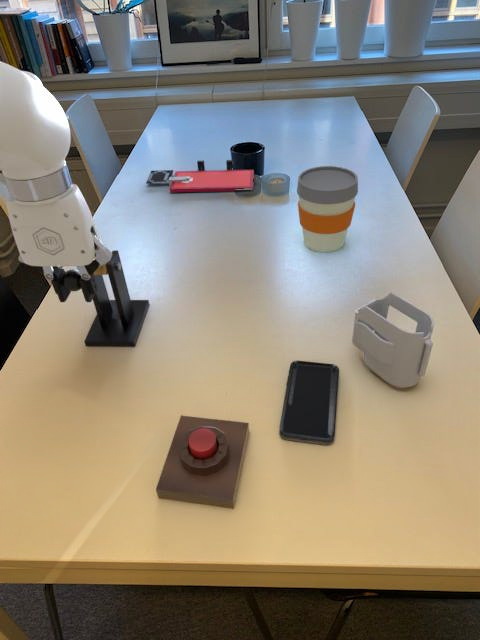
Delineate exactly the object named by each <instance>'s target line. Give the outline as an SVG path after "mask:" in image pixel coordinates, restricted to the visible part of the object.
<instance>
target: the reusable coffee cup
mask: <svg viewBox="0 0 480 640" xmlns="http://www.w3.org/2000/svg"><path fill="white" fill-rule="evenodd" d="M358 178H359V177H358V175H357V174H356V173H355V172H354V171H353V170H352V169H351V170H350V169H348V168H347V167H346V168H345V167H341V166H335V165H323V166H314V167H312V168H311V167H310V168H307V169H305V170H304V171H302V172H301V173H300V174H299V175H298V179H297V186H296V192H297V195H298V201H297V210H298V219H299V224H300V226H301V229H302V238H303V245H305V247H306V248H307V249H310V250H311V251H314V252H317V253H331V252H332V253H333V252H336V251H338V250H340V249H342V248H343V246H344V245H345V241H346V238H347V234H348V229H349V227H350V226H351V224H352V220H353V217H354V212H355V209H356V201H355V199H356V196H358V193H359V179H358Z"/></svg>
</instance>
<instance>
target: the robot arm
mask: <svg viewBox="0 0 480 640" xmlns="http://www.w3.org/2000/svg"><path fill="white" fill-rule="evenodd" d="M71 140H72V135H71V128H70V123H69V120H68V118H67V115H66V113H65V111H64V109H63V107H62V106H61V105H60V103H59V101H58V100H57V99H56V98H55V96H54V95H53V94H51V92H50V91H49V90H48V89H47V88H45V86H44V85H43V83H42V81H41V80H40V78H39V77H38V76H37V75H36V74H34V73H32V72H29V71H25V70H21V69H19V68H16V67H15V66H12V65H10V64H8V63H6V62H4V61H1V60H0V171H1V172H0V185H4V186H6V188H7V190H8V193H7V195H6V196H5V201H6V207H7V214H8V220H9V224H10V229H11V233H12V235H13V238H14V241H15V244H16V247H17V250H18V253H19V254H18V261H19V262H20V263H22V264H24V265H27V266H30V267H33V269H35V270H37V271H38V272H39V273H41V274H43V275H44V278H45V279H46V280H47V281H50V282H51V285H52V288H53V290H54V293H55V295H57V298H58V301H59V302H60V303H65V302H67V300H68V298H69V297H70V294H71V293H72V291H69V290H67V289H66V288H65V287H64V286H63V284H62V276H63V274H64V273H65V272H66V270H65V269H64V268H61V267H76V270H78V271H79V273H80V275H81V279H80V281H79V283H80V286H81V289H80V290H81V292H82V295H83V299H84V301H85V302H86V303H92V302H93V297H94V295H95V294H96V293H97V291H98V286H97V283H96V280H95V276H94V272H95V271H96V270H97V269H98V267H100V266H102V265H104V264H105V263H107V262H109V261H110V259H111V257H112V251H111V250H110V249H109V247H107V246H106V245H105V244H104V243H103V242H102V241H101V239H100V235H99V232H98V229H97V226H96V223H95V220H94V217H93V215H92V212H91V210H90V208H89V205H88V203H87V201H86V199H85V197H84V195H83V193H82V191H81V189H80V188H79V186H78V184H75V183H73V181H72V178H71V175H70V172H69V167H68V165H67V162H66V158H67V156H68V154H69V152H70V148H71V142H72V141H71ZM95 253H96V255H97V256H95Z"/></svg>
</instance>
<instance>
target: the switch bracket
mask: <svg viewBox="0 0 480 640" xmlns="http://www.w3.org/2000/svg"><path fill="white" fill-rule="evenodd" d="M111 253H112V257H111V259H110V261H109V262H107V263H106V269H107V272H108V274H107V275H108V279H109V284H110V286H111V290H112V295H113V297H114V299H110V297H109V294H108V290H107V287H106V283H105V279H104V275H94V276H95V280H96V283H97V286H98V291H97V293H96V294H95V295H94V297H93V299H92V302H93V305H94V308H95V311H96V312H95V313H96V315H95V317H94V320H93V322H92V324H91V326H90V328H89V330H88V332H87V334H86V337H85V339H84V340H83V342H84V344H85V347H115V348H116V347H122V348H124V347H128V348H129V347H130V348H135V347H136V346H137V343H138V340H139V336H140V334H141V331H142V327H143V324H144V322H145V319H146V316H147V313H148V311H149V308H150V301H149V299H131V296H130V293H129V288H128V284H127V281H126V280H127V279H126V277H125V272H124V268H123V265H122V261H121V257H120V253H119V250H112V251H111ZM95 256H97V254H96V253H95Z"/></svg>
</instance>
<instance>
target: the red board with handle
mask: <svg viewBox="0 0 480 640" xmlns="http://www.w3.org/2000/svg"><path fill="white" fill-rule="evenodd" d="M232 160H233V159H226V161H225V162H226V169H224V170H223V169H222V170H221V169H219V170H218V169H217V170H216V169H215V170H213V169H212V170H206V168H205V160H197V161H196V163H197V164H196V165H197V170H176V171H174V169H165V170H164V169H163V170H161V169H160V170H150V173H149V174H148V177H147V179H146V182H145V184H168V185H169V193H207V192H208V193H209V192H211V193H212V192H218V193H219V192H236V191H235V189H244V188H253V189H254V182H253V179H254V180H255V169H234V170H232V168H234V163H233V164H232ZM173 173H174V175H173Z"/></svg>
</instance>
